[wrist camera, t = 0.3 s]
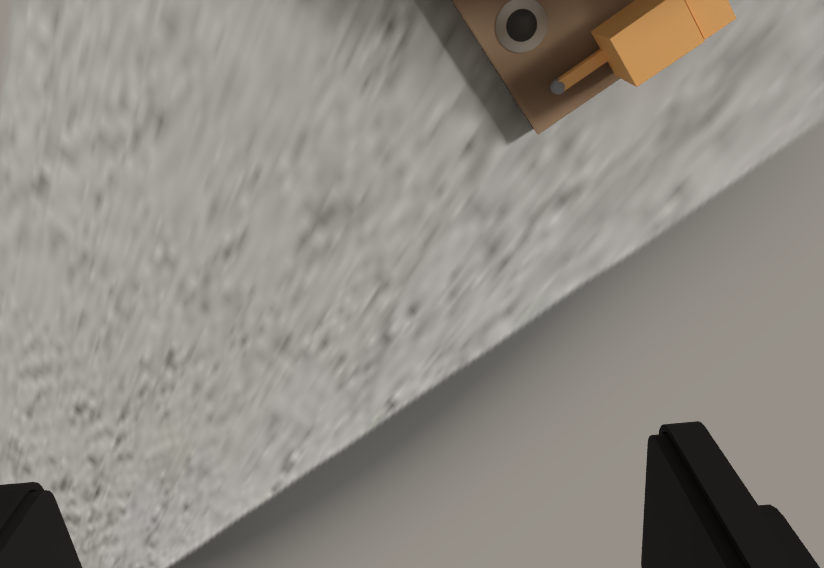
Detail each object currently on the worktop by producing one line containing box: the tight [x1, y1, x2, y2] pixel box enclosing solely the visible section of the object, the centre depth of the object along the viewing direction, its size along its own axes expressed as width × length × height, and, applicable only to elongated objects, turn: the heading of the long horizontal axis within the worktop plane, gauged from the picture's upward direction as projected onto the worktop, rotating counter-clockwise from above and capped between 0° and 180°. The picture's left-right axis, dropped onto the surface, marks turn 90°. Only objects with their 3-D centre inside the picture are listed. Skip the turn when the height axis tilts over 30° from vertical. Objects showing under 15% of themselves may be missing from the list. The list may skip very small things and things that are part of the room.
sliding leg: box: [550, 0, 736, 95], centre depth 39 cm, size 3×10×4 cm, turn 126°
